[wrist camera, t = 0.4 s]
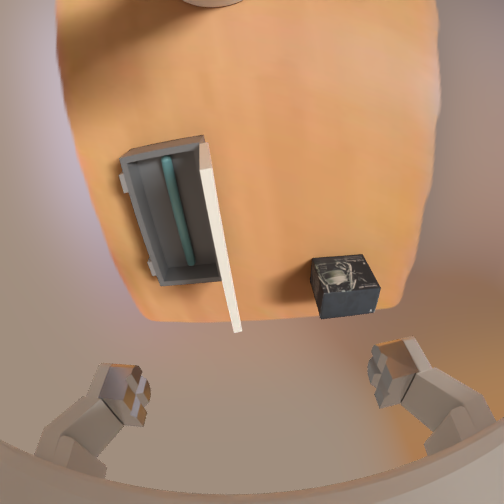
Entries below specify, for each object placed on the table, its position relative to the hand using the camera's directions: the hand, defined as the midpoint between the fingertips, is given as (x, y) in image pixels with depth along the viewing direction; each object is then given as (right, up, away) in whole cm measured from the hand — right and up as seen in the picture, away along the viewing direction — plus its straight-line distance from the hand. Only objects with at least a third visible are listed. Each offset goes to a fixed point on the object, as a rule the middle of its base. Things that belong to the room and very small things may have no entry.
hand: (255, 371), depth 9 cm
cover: (-5, +5, +29) cm, 30 cm away
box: (+16, +1, +47) cm, 50 cm away
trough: (-12, +11, +38) cm, 42 cm away
